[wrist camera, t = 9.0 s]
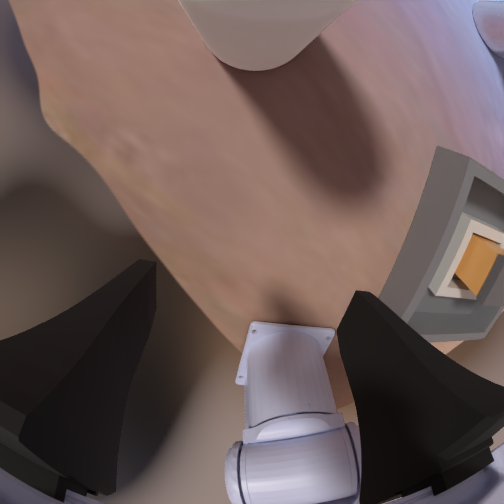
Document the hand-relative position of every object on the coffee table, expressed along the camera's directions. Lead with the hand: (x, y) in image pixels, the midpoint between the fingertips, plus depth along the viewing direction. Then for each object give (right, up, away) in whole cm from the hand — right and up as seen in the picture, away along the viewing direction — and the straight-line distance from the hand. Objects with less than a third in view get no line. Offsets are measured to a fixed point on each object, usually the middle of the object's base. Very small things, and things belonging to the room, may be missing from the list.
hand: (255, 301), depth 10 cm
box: (+20, +2, +12) cm, 24 cm away
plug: (+20, +2, +11) cm, 23 cm away
